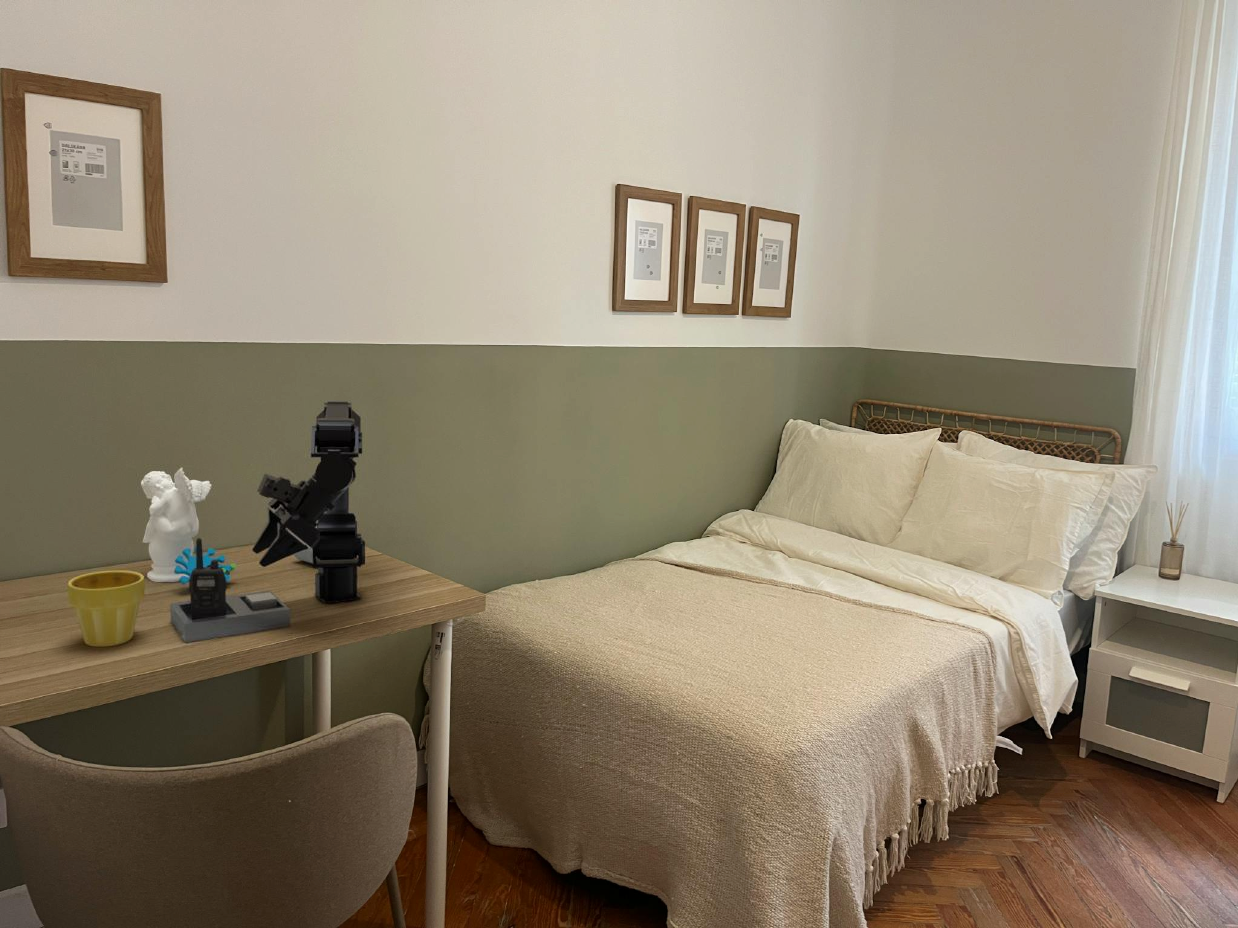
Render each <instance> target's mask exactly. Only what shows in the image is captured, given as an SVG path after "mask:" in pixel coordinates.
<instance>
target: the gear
mask: <svg viewBox="0 0 1238 928" xmlns="http://www.w3.org/2000/svg"><path fill="white" fill-rule="evenodd" d="M203 549H204V548H203V546H202V551H203ZM190 553H191V549H190V548H188V549H184V550H183V552H182V554H183V555H184V556H185V557H186V558H187V560H188V562H185V561H184V558H183V557H182V556H181V555H180V556H178V557H177V558H176V560H175V562H176V563H178V564H181V565H183V566H184V567H185V568H186V570H184V569H183V568H182V567H181V566H176V568H175V570H174V573H175V574H186V575H188V576H189V577H186V576H181V578H180V579H179V580H180V581H179V582H180V584H181V585H186V584H187V583H189V579H190V577H191V572H192V570H193V569H195V568H196V546H194V553H195V555H194V556H193V555H192V556H190ZM215 554H216V550H215V549H214V548H213V547H209V548H208V550H207V552H206V553H205V554H203V567H207V566H208V565H211V561H212V560H217V561H218V565H219V566H218V567H220V568H222V569H223V571H224V575H225V577H226V584H227V583H228V582H229V581H230V579H231V578H232V577H231V576H230V574H231V572H233V571H235V569H236V567H237V564H236V563H234V562H231V563H230V564H223V563H225V561H226V557H225V555H224V554H219V556H217V557H213V556H214V555H215Z"/></svg>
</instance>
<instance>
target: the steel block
mask: <svg viewBox="0 0 1238 928" xmlns="http://www.w3.org/2000/svg"><path fill="white" fill-rule="evenodd" d="M274 595H275V594H274ZM274 595H272V594H271V593H270V592H269V593H261V594H254V595H247V596H246V605H247V606H248V607H249V608H250V609H251V610H252V611H260V610H267V609H274V608H277V598H278V597H277V596H276V595H275V596H276V597H277V598H276V597H275V596H274Z"/></svg>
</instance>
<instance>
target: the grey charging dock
mask: <svg viewBox="0 0 1238 928" xmlns="http://www.w3.org/2000/svg"><path fill="white" fill-rule="evenodd" d="M269 592H270V593H271V594H272V595H274V596H275V597H276V598H277V608H274V609H267V610H260V611H252V610H251V609H250V608H249V607H248V606H247V605H246V596H247V595H254V594H261V593H269ZM169 605H170V606H169V607H170V608H169V609H170V622H171V624H172V625H173V626H174V628H175V629H176V631H177V632H178V634H179V636H180V637H181V638H182V641H184V643H192V642H200V641H204V640H205V641H207V640H211V639H218V638H219V639H220V638H224V637H230V635H231V636H236V635H237V636H239V635H243V634H242V633H245V634H250V633H251V634H252V633H256V632H263V631H262V630H265V631H269V629H271V630H276V629H282V628H283V627H284V628H291V609H290V608H289V606H288V605H286V604H285V603H284V602H283V601H282V600H281V599H280V598H279V597H278V596H276V594H275V593H273V591H272V590H264V591H256V592H247V593H242V594H241V593H240V594H234V595H233V594H232V595H227V596H226V615H224V616H217V617H210V618H203V619H196V620H192V615H191V600H185V601H180V602H171V603H169ZM284 628H283V629H284Z"/></svg>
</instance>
